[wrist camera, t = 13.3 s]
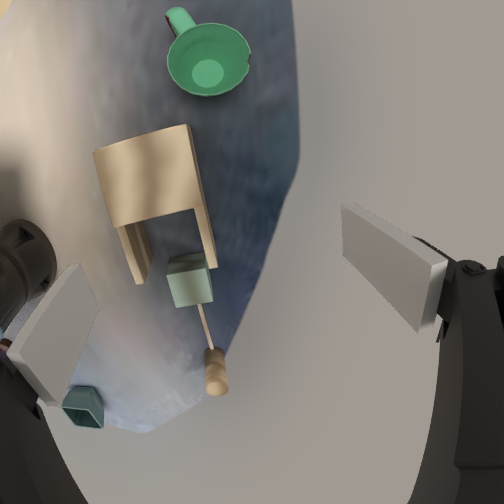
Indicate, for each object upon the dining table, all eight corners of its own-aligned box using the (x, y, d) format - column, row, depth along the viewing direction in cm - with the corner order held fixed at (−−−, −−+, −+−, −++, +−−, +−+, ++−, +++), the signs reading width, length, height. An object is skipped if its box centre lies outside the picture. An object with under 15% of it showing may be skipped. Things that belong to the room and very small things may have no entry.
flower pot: (68, 380, 55) (58, 406, 47) (96, 381, 56) (88, 409, 48) (82, 401, 58) (75, 426, 50) (109, 402, 60) (104, 429, 51)
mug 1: (3, 352, 49) (-14, 383, 38) (-2, 334, 46) (-22, 364, 36) (32, 366, 52) (17, 399, 41) (28, 348, 49) (10, 382, 39)
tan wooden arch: (146, 257, 46) (135, 288, 37) (115, 145, 38) (92, 150, 29) (215, 242, 47) (218, 270, 38) (190, 125, 38) (185, 123, 29)
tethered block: (202, 362, 57) (204, 398, 48) (170, 258, 46) (163, 289, 37) (229, 357, 58) (235, 393, 49) (204, 251, 47) (205, 281, 38)
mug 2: (253, 83, 37) (267, 70, 28) (196, 116, 38) (194, 111, 29) (203, 14, 31) (204, -14, 22) (147, 45, 32) (133, 24, 23)
